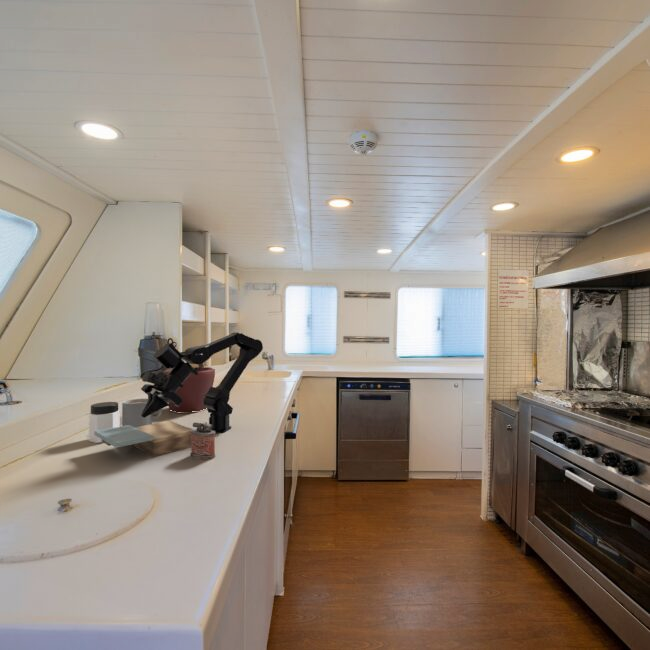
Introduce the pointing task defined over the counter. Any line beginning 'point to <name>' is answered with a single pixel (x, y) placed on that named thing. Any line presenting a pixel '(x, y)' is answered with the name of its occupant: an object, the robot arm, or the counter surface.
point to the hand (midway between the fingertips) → (142, 416)
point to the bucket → (194, 390)
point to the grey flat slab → (122, 436)
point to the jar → (103, 418)
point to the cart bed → (165, 438)
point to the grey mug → (136, 413)
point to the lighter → (202, 441)
